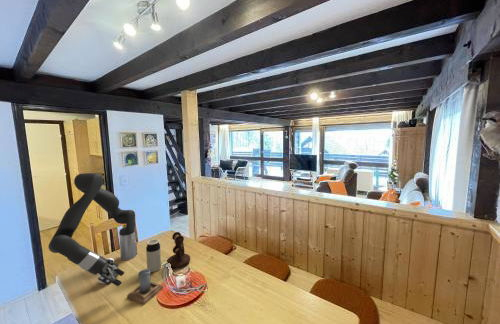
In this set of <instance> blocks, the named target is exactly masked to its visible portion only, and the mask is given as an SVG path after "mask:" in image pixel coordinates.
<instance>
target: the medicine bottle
mask: <svg viewBox="0 0 500 324" xmlns="http://www.w3.org/2000/svg"><path fill="white" fill-rule="evenodd" d="M106 259H107V261H108V260H110V261H112V262H114V263H115V259H114V258H111V257H109V258H106ZM114 266H115V265H114ZM112 273H113V276H114V277H115V278H116V279H118V278H119V276H120V275H118V274H116V273H115V272H112ZM100 276H101V275H100V274H97V279H98V278H99V277H100ZM108 277H109V276H108ZM104 279H105V278H104ZM97 281H98V284H103V285H104V284H105V283H104V282H102V281H100V280H99V279H98V280H97ZM106 281H107V282H108V280H106ZM105 285H106V284H105Z"/></svg>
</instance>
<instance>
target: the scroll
mask: <svg viewBox="0 0 500 324" xmlns="http://www.w3.org/2000/svg"><path fill="white" fill-rule="evenodd" d="M171 238H172V240H173V241H174V244H175V245H174V247H173V248H172V252H173V253H174V254H173V255H171V256H169V257H168V258H167V259H166V263H167V262H168V263H170V264H171V266H172V267H173V268H174V269H175V268H179V267H180V268H181V267H183V266H186V265H189V264H190V261H191V256H190V254H188V253H185V243H184V240H185V238H184V236H183V235H182V234H181V232H179V231H175V232H174V233H173V234H172V237H171ZM172 267H171V268H172ZM173 268H172V269H173Z"/></svg>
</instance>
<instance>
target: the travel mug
mask: <svg viewBox="0 0 500 324" xmlns="http://www.w3.org/2000/svg"><path fill="white" fill-rule="evenodd" d="M145 243H146V247H145V250H146V251H145V252H146V269H149V270H150V273H154V272H157V271H159V270H160V269H161V268H162V258H161V244H160V239H159V238H152V239H149V240H147V241H146V242H145Z"/></svg>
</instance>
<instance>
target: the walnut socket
mask: <svg viewBox="0 0 500 324" xmlns="http://www.w3.org/2000/svg"><path fill="white" fill-rule="evenodd" d="M150 286H151V289H150V291H149V292H147V293H144V294H142V293H140V284H138V286H137V287H135V288H134V289H132V290H131V291H130V292H129V293H128V294H127V295H126V296H127V298H128V299H130V300H133V301H135V302H138V303H140V304H142V305H146V304H147V303H148V302H149V301H150V300H152V299H153V298H154V297H155V296H156V295H157V294H159V293H160V292H161V291H162V290H163V289H164V285H161V284H159V283H156V282H153V281H150ZM162 288H163V289H162ZM161 289H162V290H161ZM160 290H161V291H160ZM159 291H160V292H159ZM158 292H159V293H158Z"/></svg>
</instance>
